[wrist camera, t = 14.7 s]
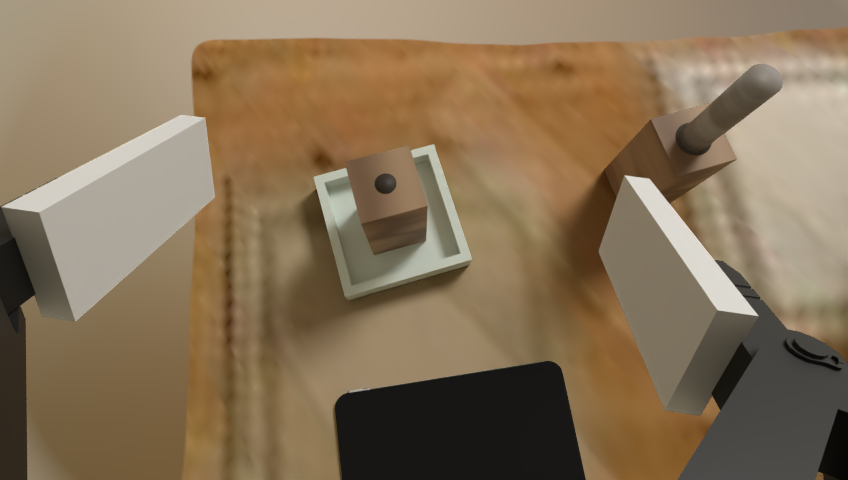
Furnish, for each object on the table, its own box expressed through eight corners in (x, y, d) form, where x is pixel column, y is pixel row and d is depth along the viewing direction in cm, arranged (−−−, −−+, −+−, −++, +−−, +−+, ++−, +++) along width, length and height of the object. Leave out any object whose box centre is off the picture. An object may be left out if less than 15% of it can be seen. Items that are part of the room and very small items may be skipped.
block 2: (650, 156, 48) (781, 36, 31) (671, 202, 47) (820, 104, 29) (604, 169, 48) (710, 55, 30) (623, 216, 46) (746, 125, 29)
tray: (433, 155, 48) (433, 144, 46) (469, 264, 45) (472, 259, 43) (318, 186, 47) (313, 176, 45) (348, 300, 44) (344, 296, 42)
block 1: (411, 191, 46) (409, 144, 36) (426, 240, 45) (427, 205, 35) (360, 205, 46) (344, 161, 36) (373, 255, 44) (361, 223, 35)
